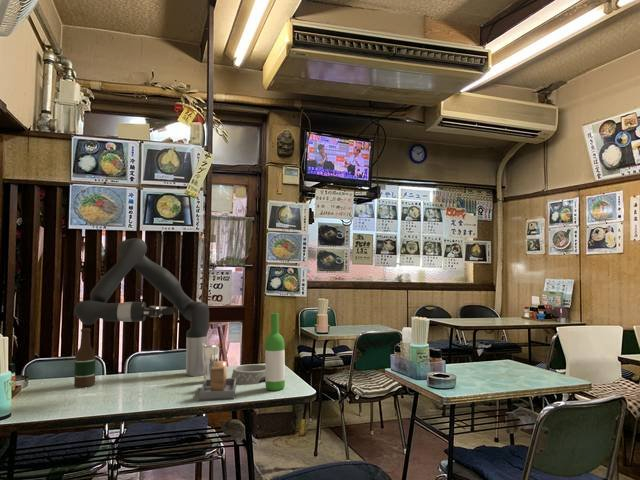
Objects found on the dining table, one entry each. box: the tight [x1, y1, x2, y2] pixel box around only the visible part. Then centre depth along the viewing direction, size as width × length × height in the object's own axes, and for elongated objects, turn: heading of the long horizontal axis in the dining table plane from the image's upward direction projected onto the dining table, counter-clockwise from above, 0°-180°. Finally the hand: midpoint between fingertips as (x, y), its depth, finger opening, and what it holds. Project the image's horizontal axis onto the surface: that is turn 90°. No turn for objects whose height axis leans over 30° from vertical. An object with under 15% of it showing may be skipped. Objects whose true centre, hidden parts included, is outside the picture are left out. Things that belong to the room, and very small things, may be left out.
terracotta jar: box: [214, 360, 228, 388], centre depth 187 cm, size 5×5×10 cm
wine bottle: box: [264, 312, 286, 392], centre depth 186 cm, size 8×8×30 cm
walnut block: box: [211, 367, 224, 391], centre depth 175 cm, size 4×4×10 cm
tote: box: [198, 377, 237, 401], centre depth 180 cm, size 21×13×3 cm, turn 8°
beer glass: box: [203, 344, 220, 383], centre depth 200 cm, size 7×7×15 cm
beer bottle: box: [73, 327, 96, 389], centre depth 195 cm, size 8×8×24 cm
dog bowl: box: [231, 363, 266, 385], centre depth 202 cm, size 17×18×5 cm
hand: (174, 310), depth 182 cm, fingers open, 8 cm apart
